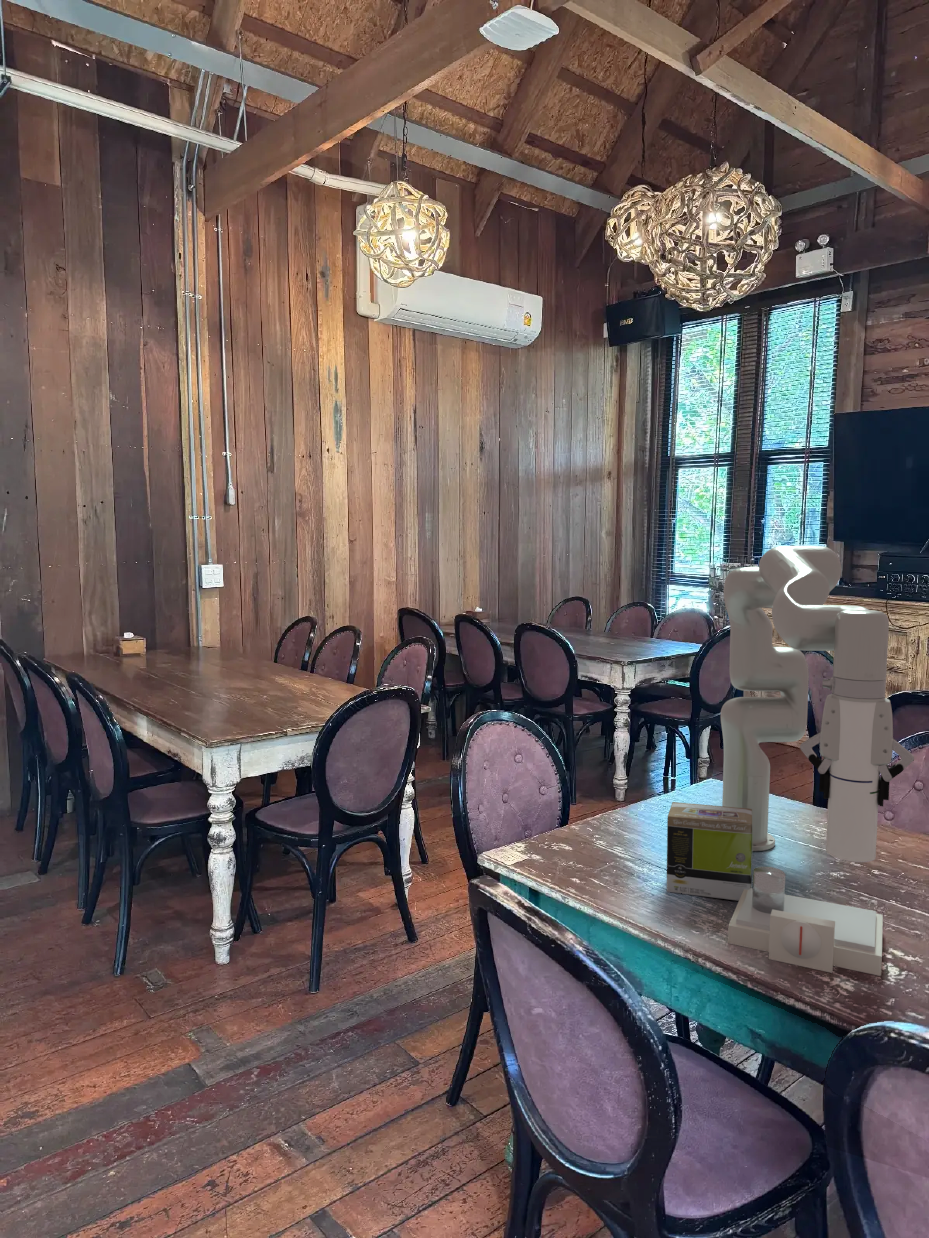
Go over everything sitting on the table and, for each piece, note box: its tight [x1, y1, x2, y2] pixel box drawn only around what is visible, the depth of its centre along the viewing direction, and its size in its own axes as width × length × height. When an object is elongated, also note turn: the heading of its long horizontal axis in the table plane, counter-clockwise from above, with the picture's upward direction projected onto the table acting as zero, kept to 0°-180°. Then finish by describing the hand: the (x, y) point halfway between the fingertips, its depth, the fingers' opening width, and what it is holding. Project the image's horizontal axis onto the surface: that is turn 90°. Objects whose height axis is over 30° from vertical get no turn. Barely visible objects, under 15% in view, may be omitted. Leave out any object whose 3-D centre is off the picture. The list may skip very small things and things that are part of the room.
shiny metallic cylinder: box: [752, 866, 786, 914], centre depth 137 cm, size 5×5×6 cm
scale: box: [727, 887, 884, 977], centre depth 134 cm, size 22×19×7 cm
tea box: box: [666, 801, 753, 902], centre depth 154 cm, size 15×10×15 cm
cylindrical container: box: [825, 699, 882, 863], centre depth 130 cm, size 7×7×25 cm
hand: (853, 799), depth 130 cm, fingers closed on cylindrical container, 7 cm apart
